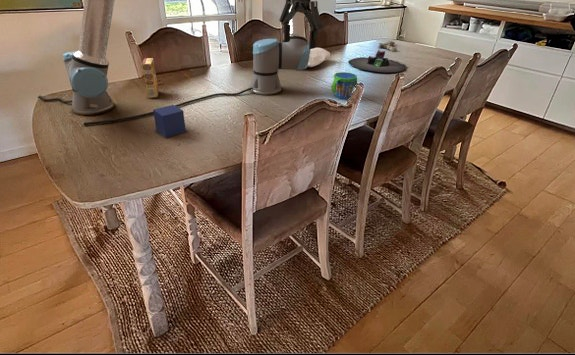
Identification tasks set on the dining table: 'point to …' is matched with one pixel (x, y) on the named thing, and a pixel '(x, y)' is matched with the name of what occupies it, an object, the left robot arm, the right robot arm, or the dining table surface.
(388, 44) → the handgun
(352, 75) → the snack cup
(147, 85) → the candy box
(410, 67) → the dining table surface
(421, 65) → the dining table surface
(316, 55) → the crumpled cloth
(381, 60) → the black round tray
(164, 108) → the blue cube
